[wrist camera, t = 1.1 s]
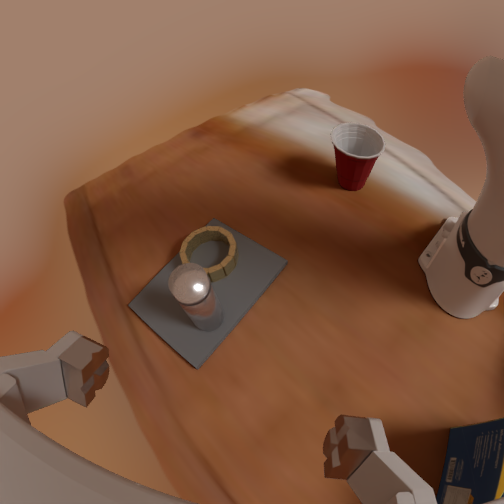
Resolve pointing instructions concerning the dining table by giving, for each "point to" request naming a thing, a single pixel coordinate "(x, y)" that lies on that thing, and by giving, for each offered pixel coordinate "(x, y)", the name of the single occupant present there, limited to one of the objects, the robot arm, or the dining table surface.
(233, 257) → the brass collar
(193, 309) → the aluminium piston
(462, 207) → the dining table surface
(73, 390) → the robot arm
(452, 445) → the protein box
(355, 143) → the plastic cup
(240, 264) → the rubber mat
